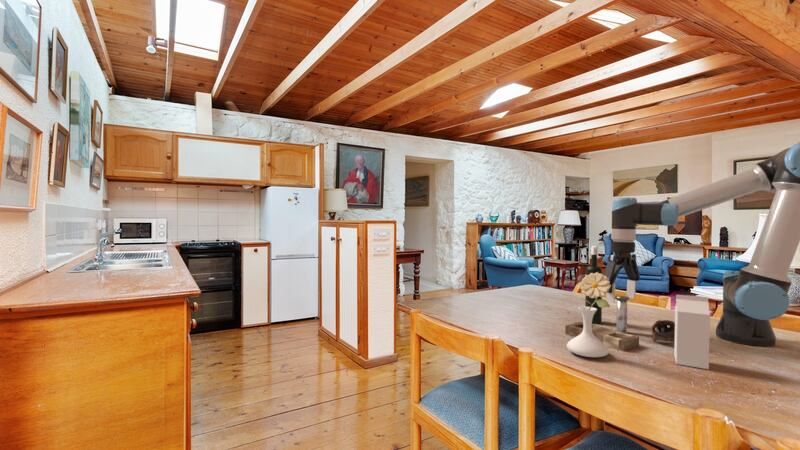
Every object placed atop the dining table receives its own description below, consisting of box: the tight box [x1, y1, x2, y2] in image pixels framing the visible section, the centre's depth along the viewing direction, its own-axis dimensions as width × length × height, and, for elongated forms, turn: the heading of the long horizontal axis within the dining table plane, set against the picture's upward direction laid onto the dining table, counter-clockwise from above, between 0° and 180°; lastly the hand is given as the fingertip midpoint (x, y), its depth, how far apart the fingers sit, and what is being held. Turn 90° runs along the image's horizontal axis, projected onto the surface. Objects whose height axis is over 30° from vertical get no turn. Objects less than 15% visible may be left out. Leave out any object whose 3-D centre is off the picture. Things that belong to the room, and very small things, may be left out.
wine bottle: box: [584, 245, 603, 325], centre depth 149 cm, size 6×6×30 cm
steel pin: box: [615, 294, 630, 334], centre depth 136 cm, size 4×4×13 cm
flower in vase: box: [566, 272, 611, 358], centre depth 113 cm, size 13×11×25 cm
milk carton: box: [673, 294, 711, 370], centre depth 107 cm, size 7×7×19 cm
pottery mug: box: [651, 319, 675, 343], centre depth 126 cm, size 12×10×8 cm
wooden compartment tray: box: [564, 321, 640, 352], centre depth 128 cm, size 20×9×3 cm, turn 32°
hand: (620, 300), depth 136 cm, fingers open, 13 cm apart
